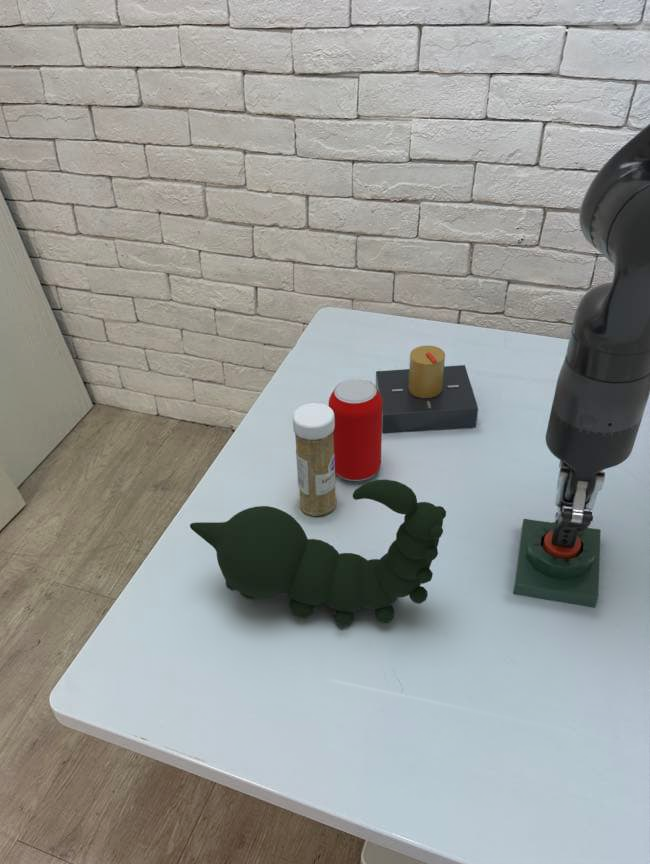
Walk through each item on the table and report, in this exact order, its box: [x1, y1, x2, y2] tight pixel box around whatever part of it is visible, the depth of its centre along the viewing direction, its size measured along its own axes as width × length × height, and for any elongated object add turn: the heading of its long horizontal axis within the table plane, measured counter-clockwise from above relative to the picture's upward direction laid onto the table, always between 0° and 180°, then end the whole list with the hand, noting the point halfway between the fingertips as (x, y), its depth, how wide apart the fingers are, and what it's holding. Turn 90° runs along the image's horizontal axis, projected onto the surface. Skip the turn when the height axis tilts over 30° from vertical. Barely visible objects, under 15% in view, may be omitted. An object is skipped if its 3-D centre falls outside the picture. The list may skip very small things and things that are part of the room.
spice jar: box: [292, 402, 337, 517], centre depth 92 cm, size 5×5×14 cm
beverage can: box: [328, 378, 383, 482], centre depth 96 cm, size 6×6×12 cm
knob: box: [408, 344, 446, 398], centre depth 104 cm, size 4×4×6 cm
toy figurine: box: [189, 479, 447, 628], centre depth 80 cm, size 9×19×25 cm
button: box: [543, 530, 581, 559], centre depth 83 cm, size 4×4×2 cm
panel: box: [375, 364, 479, 434], centre depth 107 cm, size 12×10×3 cm
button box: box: [512, 518, 601, 608], centre depth 84 cm, size 10×8×4 cm
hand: (562, 541), depth 83 cm, fingers closed
